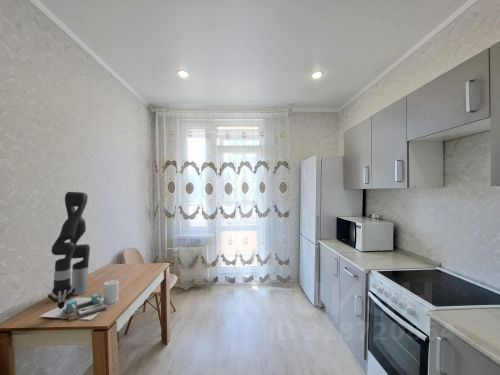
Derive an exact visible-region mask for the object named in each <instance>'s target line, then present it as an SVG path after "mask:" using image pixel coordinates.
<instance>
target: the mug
mask: <svg viewBox="0 0 500 375" xmlns="http://www.w3.org/2000/svg"><path fill="white" fill-rule="evenodd" d="M119 284H120V282H119V280H116V279H114V280H108V281H106V282H104V288H103V289H104V290H103V302H102V303H105V305H111V304H115V303H117V302H119V291H120V290H119V286H120V285H119Z"/></svg>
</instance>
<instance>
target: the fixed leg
mask: <svg viewBox="0 0 500 375" xmlns="http://www.w3.org/2000/svg"><path fill="white" fill-rule="evenodd" d="M90 298H91V299H90V301H93V305H96V304H99V305H101V303H102V294H100V292H98V293H95V294H91V297H90Z"/></svg>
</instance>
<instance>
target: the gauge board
mask: <svg viewBox="0 0 500 375" xmlns="http://www.w3.org/2000/svg"><path fill="white" fill-rule="evenodd" d="M104 311H107V304H104V303H103V302H101V305H99V304H96V305H93V301H91V300H89V301H85V302H83V303H79V304H77V310H76V311H75V313H73V311H72V312H69V313H68V308H67V311H66V308H64V309H63V308H62V312H64V313H65V314H64V313H63V314H64V316H65V315H66V316H65V317H66V319H67V321H68V322H70V323H71V322H73V321H75V320H78V319H82V318H85V316H86V317H88V315H89V316H91V314H92V315H95V314H97V312H98V313H101V312H104ZM94 313H95V314H94Z"/></svg>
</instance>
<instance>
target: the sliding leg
mask: <svg viewBox="0 0 500 375" xmlns="http://www.w3.org/2000/svg"><path fill="white" fill-rule="evenodd" d="M77 303H78V301H77V299H71V300H66V303H65V306H66V307H65V309H66V311H67V308H68V313H69V312H72V311H73V313H75V311H76V310H77V305H78V304H77Z"/></svg>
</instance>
